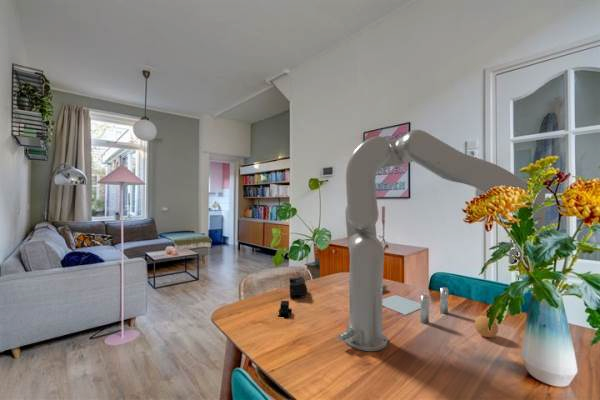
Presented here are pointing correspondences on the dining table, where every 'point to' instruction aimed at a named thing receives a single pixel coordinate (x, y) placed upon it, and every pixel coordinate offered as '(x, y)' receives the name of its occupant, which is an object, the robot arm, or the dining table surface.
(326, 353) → the dining table surface
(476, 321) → the ball
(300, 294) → the end cap
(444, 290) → the right post
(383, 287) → the stopper wall
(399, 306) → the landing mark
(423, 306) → the left post
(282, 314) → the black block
